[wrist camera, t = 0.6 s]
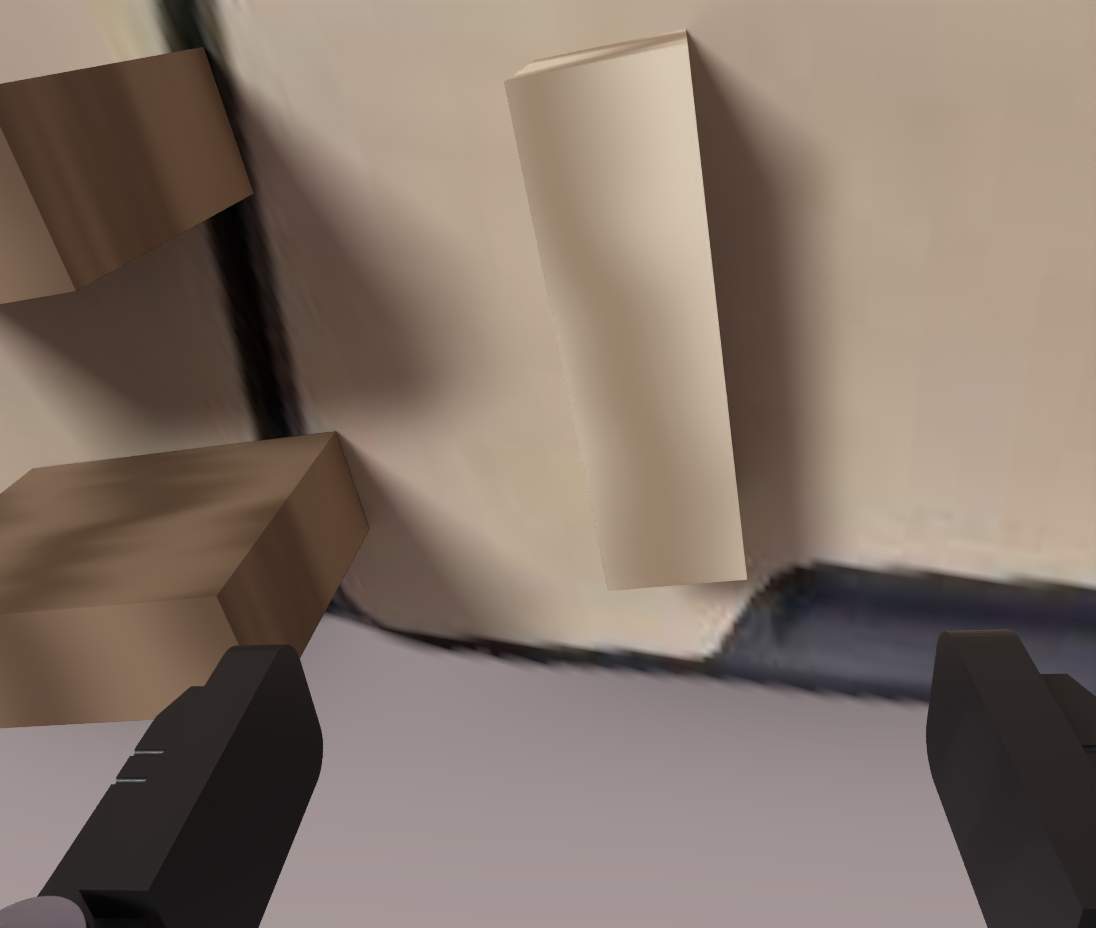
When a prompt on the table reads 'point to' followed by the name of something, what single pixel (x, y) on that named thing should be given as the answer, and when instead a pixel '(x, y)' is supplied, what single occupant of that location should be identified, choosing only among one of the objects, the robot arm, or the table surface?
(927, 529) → the table surface
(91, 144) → the slotted shelf
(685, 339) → the maple beam
